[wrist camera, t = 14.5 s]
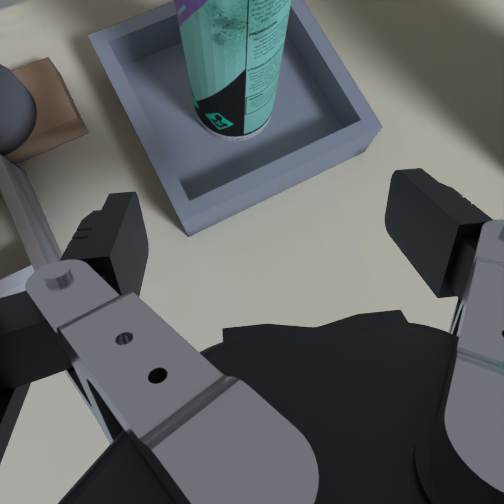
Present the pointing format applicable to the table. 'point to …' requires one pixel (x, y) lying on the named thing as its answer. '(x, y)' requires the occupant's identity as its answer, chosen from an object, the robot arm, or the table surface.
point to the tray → (234, 152)
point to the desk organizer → (32, 154)
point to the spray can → (233, 61)
